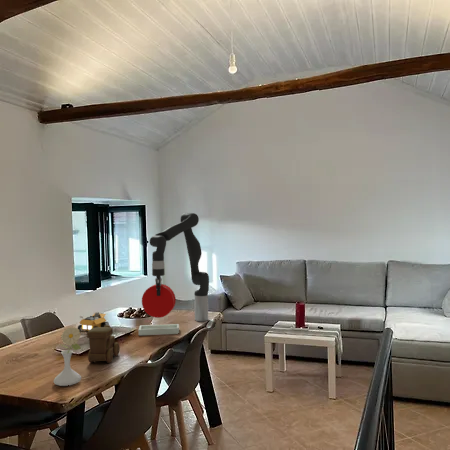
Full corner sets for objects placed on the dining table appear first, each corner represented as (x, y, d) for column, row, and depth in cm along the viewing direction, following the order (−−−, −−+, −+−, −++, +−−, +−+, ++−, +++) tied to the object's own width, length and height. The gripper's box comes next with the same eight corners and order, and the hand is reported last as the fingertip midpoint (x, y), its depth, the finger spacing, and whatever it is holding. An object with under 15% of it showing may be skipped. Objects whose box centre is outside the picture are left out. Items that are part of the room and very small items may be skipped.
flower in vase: (47, 386, 188) (46, 328, 187) (66, 377, 198) (65, 322, 198) (72, 390, 183) (71, 330, 183) (90, 380, 194) (89, 324, 193)
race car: (76, 332, 277) (75, 315, 277) (91, 326, 291) (91, 310, 291) (95, 334, 272) (95, 317, 272) (110, 328, 286) (110, 312, 286)
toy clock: (175, 315, 275) (175, 283, 275) (173, 317, 269) (173, 285, 269) (144, 315, 277) (144, 283, 277) (142, 317, 271) (141, 285, 271)
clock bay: (139, 331, 277) (139, 325, 277) (178, 329, 280) (178, 323, 280) (138, 335, 267) (138, 329, 267) (179, 333, 270) (179, 328, 270)
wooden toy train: (108, 366, 212) (107, 332, 212) (85, 366, 213) (84, 332, 213) (121, 353, 232) (120, 322, 232) (100, 353, 233) (99, 322, 233)
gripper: (164, 269, 266) (164, 296, 266) (164, 266, 280) (165, 292, 281) (151, 269, 265) (152, 297, 265) (152, 266, 279) (153, 292, 280)
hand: (158, 294), depth 273 cm, fingers closed on toy clock, 6 cm apart
